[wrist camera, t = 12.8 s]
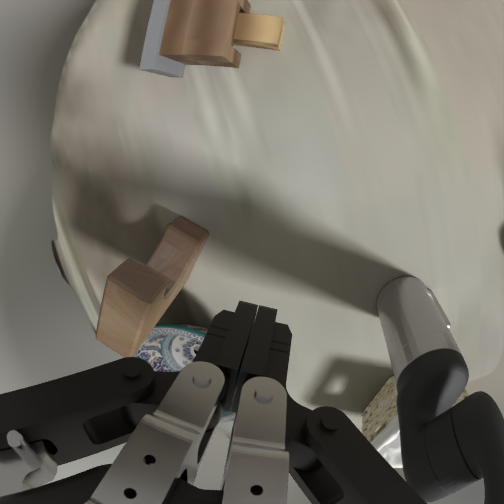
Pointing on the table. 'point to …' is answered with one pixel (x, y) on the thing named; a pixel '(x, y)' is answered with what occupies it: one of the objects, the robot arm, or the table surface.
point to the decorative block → (147, 288)
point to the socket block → (202, 32)
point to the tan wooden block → (259, 31)
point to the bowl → (175, 350)
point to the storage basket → (387, 423)
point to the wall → (158, 44)
